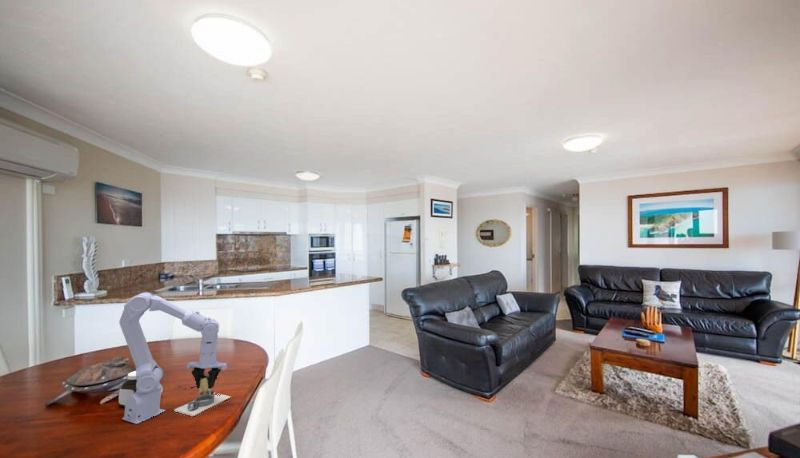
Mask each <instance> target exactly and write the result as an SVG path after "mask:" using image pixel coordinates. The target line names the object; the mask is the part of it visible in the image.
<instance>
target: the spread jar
mask: <svg viewBox="0 0 800 458" xmlns="http://www.w3.org/2000/svg"><path fill="white" fill-rule="evenodd" d="M126 378H127V379H126V380H125V381H124V382H123V383H122V384H121V386H120V388H119V393H118V403H119V405H120V406H122V408H125V405H126V400H127V398H128V397H129V396H131V395H133V394H134V393H135V392H136V391H137V388H136V383H137V378H136V370H134V371H131V372H129V373H127V377H126ZM163 390H164V388H163V387H162V388H161V394H162V393H163Z"/></svg>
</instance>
